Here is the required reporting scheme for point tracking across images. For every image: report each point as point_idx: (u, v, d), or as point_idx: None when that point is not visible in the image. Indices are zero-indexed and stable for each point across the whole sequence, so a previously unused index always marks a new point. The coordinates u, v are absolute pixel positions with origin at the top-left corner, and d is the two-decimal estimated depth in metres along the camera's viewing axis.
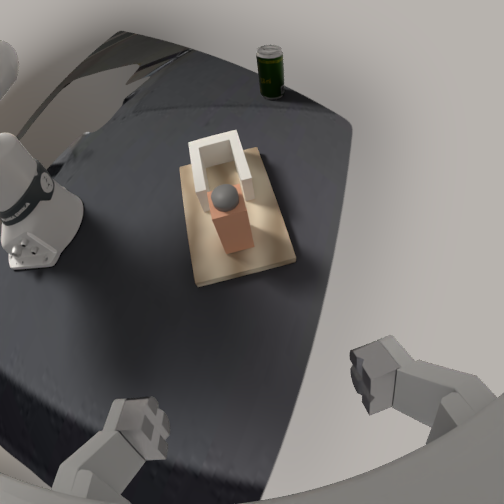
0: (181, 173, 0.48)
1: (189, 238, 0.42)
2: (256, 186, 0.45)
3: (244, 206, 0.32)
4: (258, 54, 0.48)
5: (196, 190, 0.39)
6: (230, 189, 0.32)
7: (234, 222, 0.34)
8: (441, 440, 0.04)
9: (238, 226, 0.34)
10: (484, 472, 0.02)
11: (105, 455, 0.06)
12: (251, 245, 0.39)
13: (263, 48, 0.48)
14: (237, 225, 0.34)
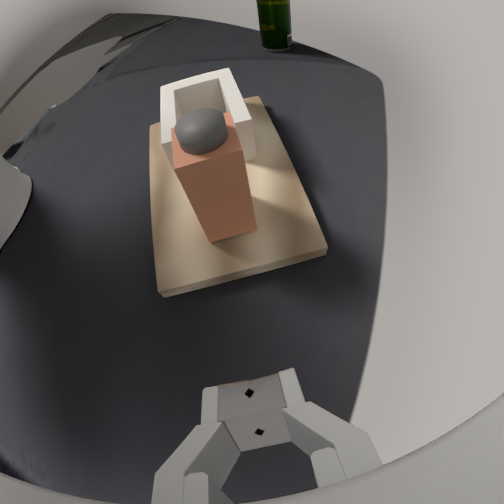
0: (151, 132, 0.32)
1: (153, 219, 0.26)
2: (258, 142, 0.28)
3: (237, 144, 0.16)
4: None
5: (163, 141, 0.23)
6: (211, 114, 0.16)
7: (219, 176, 0.17)
8: (441, 440, 0.04)
9: (227, 186, 0.18)
10: (484, 472, 0.02)
11: (209, 451, 0.06)
12: (252, 227, 0.23)
13: None
14: (225, 185, 0.18)
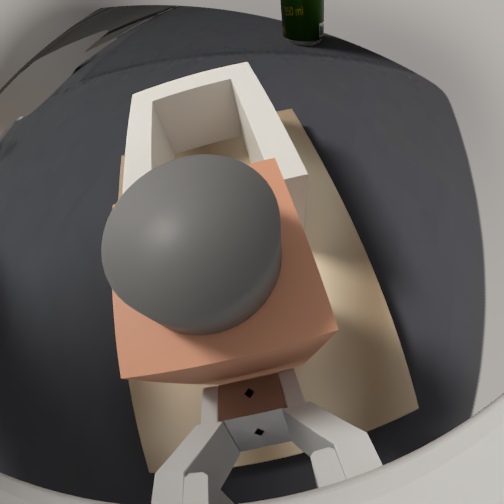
0: (123, 169, 0.20)
1: None
2: None
3: (319, 300, 0.05)
4: None
5: None
6: (226, 186, 0.05)
7: (253, 363, 0.06)
8: (441, 440, 0.04)
9: (269, 363, 0.07)
10: (484, 472, 0.02)
11: (209, 451, 0.06)
12: (296, 365, 0.12)
13: None
14: (265, 363, 0.07)
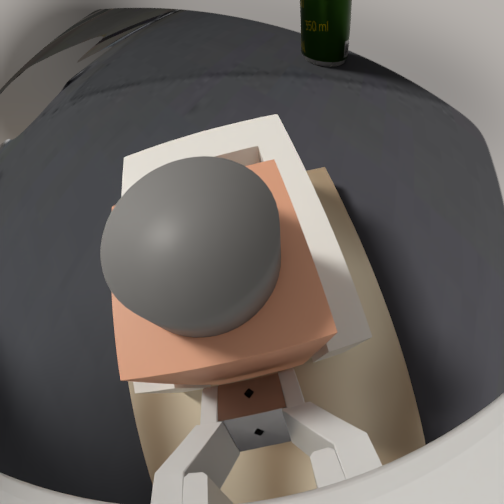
0: None
1: (150, 466, 0.11)
2: None
3: (319, 303, 0.05)
4: None
5: (137, 384, 0.08)
6: (226, 189, 0.05)
7: (252, 365, 0.06)
8: (441, 440, 0.04)
9: (268, 364, 0.07)
10: (484, 472, 0.02)
11: (209, 451, 0.06)
12: (295, 365, 0.12)
13: None
14: (264, 365, 0.07)
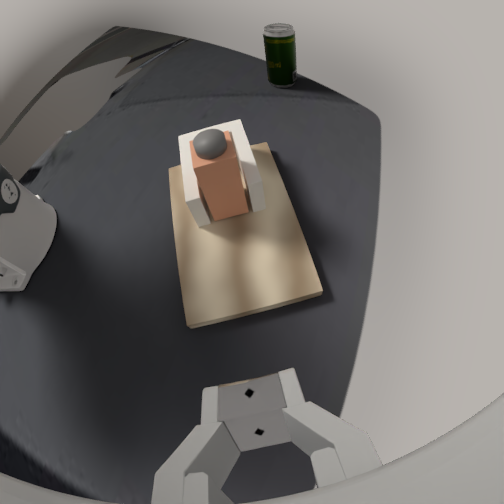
0: (170, 176, 0.37)
1: (179, 263, 0.31)
2: (267, 192, 0.34)
3: (233, 152, 0.25)
4: (265, 33, 0.37)
5: (186, 199, 0.29)
6: (216, 133, 0.25)
7: (221, 173, 0.27)
8: (441, 440, 0.04)
9: (227, 179, 0.27)
10: (484, 472, 0.02)
11: (209, 451, 0.06)
12: (244, 209, 0.32)
13: (271, 27, 0.38)
14: (225, 179, 0.27)
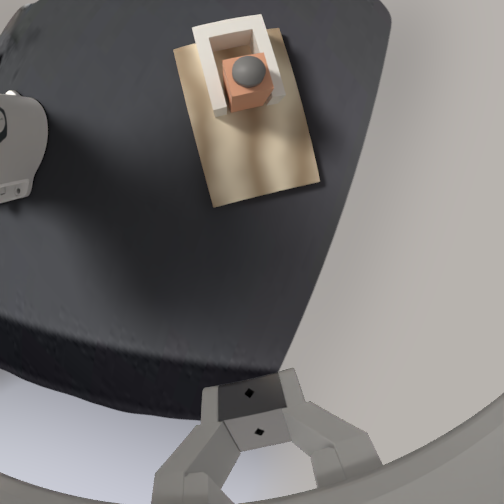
0: (177, 59, 0.30)
1: (200, 152, 0.34)
2: None
3: (271, 83, 0.24)
4: None
5: (213, 107, 0.28)
6: (256, 63, 0.22)
7: (255, 95, 0.26)
8: (441, 440, 0.04)
9: (257, 97, 0.26)
10: (484, 472, 0.02)
11: (209, 451, 0.06)
12: (260, 105, 0.32)
13: None
14: (256, 97, 0.26)
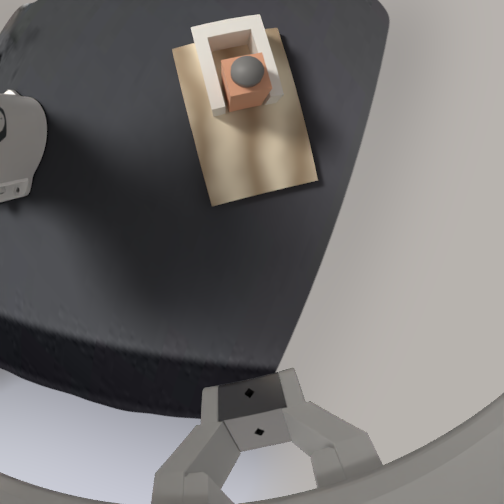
0: (176, 58, 0.30)
1: (198, 151, 0.34)
2: None
3: (269, 82, 0.24)
4: None
5: (212, 106, 0.28)
6: (255, 63, 0.22)
7: (253, 95, 0.26)
8: (441, 440, 0.04)
9: (255, 96, 0.27)
10: (484, 472, 0.02)
11: (209, 451, 0.06)
12: (258, 104, 0.32)
13: None
14: (254, 96, 0.27)
